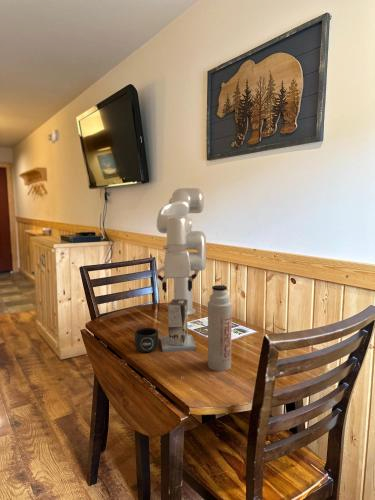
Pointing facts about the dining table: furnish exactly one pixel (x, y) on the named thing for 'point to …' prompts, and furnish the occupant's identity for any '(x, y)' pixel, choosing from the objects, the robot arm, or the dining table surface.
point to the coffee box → (177, 322)
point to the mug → (146, 339)
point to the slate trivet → (187, 346)
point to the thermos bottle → (219, 329)
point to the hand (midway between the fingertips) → (177, 291)
